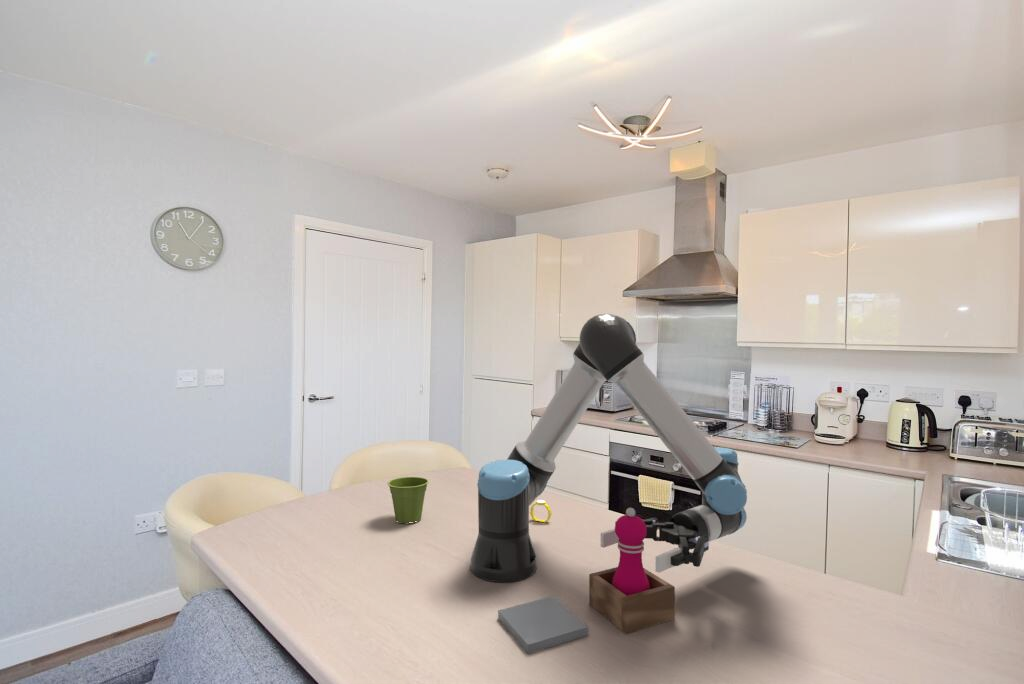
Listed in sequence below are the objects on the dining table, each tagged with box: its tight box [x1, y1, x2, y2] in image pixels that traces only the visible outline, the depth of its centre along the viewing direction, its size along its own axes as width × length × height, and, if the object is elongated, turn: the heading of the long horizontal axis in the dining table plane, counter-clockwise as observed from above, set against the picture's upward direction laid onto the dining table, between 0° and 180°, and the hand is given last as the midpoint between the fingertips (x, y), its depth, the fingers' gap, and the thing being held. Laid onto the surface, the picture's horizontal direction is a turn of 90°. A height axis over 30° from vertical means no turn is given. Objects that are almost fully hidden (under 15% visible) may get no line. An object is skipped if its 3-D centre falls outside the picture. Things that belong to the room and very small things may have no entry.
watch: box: [529, 499, 552, 524], centre depth 146 cm, size 6×3×6 cm, turn 65°
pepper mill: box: [612, 507, 650, 596], centre depth 98 cm, size 7×7×20 cm
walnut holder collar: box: [588, 566, 676, 635], centre depth 98 cm, size 11×11×6 cm
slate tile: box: [497, 595, 589, 655], centre depth 93 cm, size 12×12×2 cm
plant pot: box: [386, 476, 430, 524], centre depth 148 cm, size 12×12×11 cm
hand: (627, 551), depth 97 cm, fingers open, 13 cm apart
